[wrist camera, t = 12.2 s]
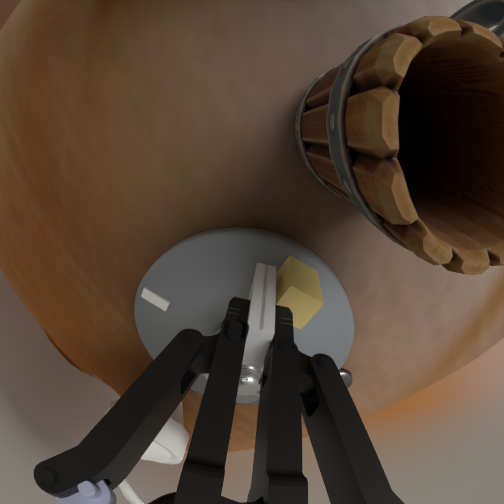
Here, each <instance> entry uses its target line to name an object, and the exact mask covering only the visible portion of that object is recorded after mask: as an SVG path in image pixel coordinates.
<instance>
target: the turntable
mask: <svg viewBox="0 0 504 504" xmlns="http://www.w3.org/2000/svg"><path fill="white" fill-rule="evenodd" d="M257 263H261V264H266V265H270V266H275V267H276V301H275V305H279V306H284V307H289V308H290V310H291V311H292V313H293V328H294V343H295V344H296V345H297V347H298V350H299V351H300V352H302V353H304V354H306V355H308V356H311V357H312V356H313V355H315V354H318V353H322V354H326V355H328V356H330V357H331V358H332V359H333V360H334V362H335V364H336V366H337V368H338V370H340V368H341V367H342V366H343V364H344V362H345V361H346V359H347V357H348V355H349V353H350V350H351V348H352V344H353V339H354V319H353V313H352V310H351V307H350V304H349V301H348V298H347V295H346V292H345V289H344V287H343V285H342V283H341V282H340V280H339V278H338V276H337V275H336V274H335V272H334V271H333V270H332V269H331V267H330V266H329V265H328V264H327V263H326V262H325V261H324V260H323V259H322V258H321V257H320V256H318V255H317V254H316V253H314V252H313V251H311V250H310V249H309V248H307V247H306V246H304V245H302V244H300V243H298V242H296V241H294V240H293V239H290V238H288V237H285V236H282V235H280V234H277V233H274V232H270V231H265V230H261V229H255V228H245V227H223V228H217V229H211V230H206V231H203V232H199V233H196V234H193V235H191V236H189V237H187V238H184V239H182V240H180V241H179V242H177V243H176V244H174V245H173V246H171V247H170V248H168V249H167V250H166V251H165V252H164V253H163V254H162V255H161V256H160V257H159V258H158V259H157V260H156V262H155V263H154V264H153V265H152V266H151V267H150V268H149V270H148V271H147V273H146V274H145V275H144V277H143V278H142V280H141V282H140V285H139V287H138V289H137V293H136V297H135V304H134V316H135V323H136V327H137V331H138V333H139V336H140V339H141V341H142V343H143V345H144V346H145V348H146V350H147V351H148V353H149V354H150V356H151V357H152V358H153V360H155V358H156V357H157V356H158V355H159V354H160V353H161V352H162V351H163V349H164V348H165V347H166V346H167V345H168V344H169V343H170V342H171V341H172V339H173V338H174V337H175V336H176V335H177V334H178V333H179V332H180V331H181V330H183V329H195V330H198V331H199V332H201V333H202V335H203V336H209V335H210V333H211V331H212V330H213V328H214V327H215V326H216V325H218V324H219V323H221V322H222V321H223V320H224V319H225V316H226V312H227V308H228V304H229V301H230V300H231V299H232V298H233V297H238V298H243V299H247V300H249V295H250V291H251V287H252V283H253V279H254V274H255V270H256V266H257ZM206 383H207V379H206V378H205V376H204V375H203V374H199V376H198V378H197V379H196V381H195V382H194V384H193V385H192V387H191V388H190V389H191V390H193V391H195V392H197V393H200V394H202V395H203V394H204V390H205V387H206ZM236 404H244V405H259V398H258V399H257V400H255V401H253V402H249V403H238V402H236Z"/></svg>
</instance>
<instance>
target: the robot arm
mask: <svg viewBox="0 0 504 504" xmlns="http://www.w3.org/2000/svg"><path fill="white" fill-rule="evenodd" d="M275 301H276V267H275V266H270V265H266V264H261V263H257V266H256V270H255V274H254V279H253V283H252V287H251V291H250V295H249V300H247V299H243V298H238V297H233V298H232V299H231V300H230V301H229V304H228V308H227V312H226V316H225V319H224V320H223V321H222V325H221V331H220V332H219V333H218V334H216V335H213V336H203V335H202V333H201V332H199V331H198V330H195V329H183V330H181V331H180V332H179V333H178V334H177V335H176V336H175V337H174V338H173V339H172V341H171V342H170V343H169V344H168V345H167V346H166V347H165V348H164V349H163V351H162V352H161V353H160V354H159V355H158V356H157V357H156V358H155V360H154V361H153V362H152V363H151V364H150V365H149V366H148V367H147V369H146V370H145V371H144V372H143V373H142V374H141V375H140V376H139V377H138V379H137V380H136V381H135V382H134V383H133V384H132V385H131V386H130V388H129V389H128V390H127V391H126V392H125V393H124V394H123V395H122V397H121V398H120V399H119V400H118V401H117V402H116V403H115V404H114V406H113V407H112V408H111V409H110V410H109V411H108V412H107V413H106V415H105V416H104V417H103V418H102V419H101V420H100V421H99V422H98V424H97V425H96V426H95V427H94V428H93V429H92V430H91V431H90V433H89V434H88V435H87V436H86V437H85V438H84V439H83V440H82V441H81V443H80V444H79V445H78V446H76V447H74V448H72V449H70V450H67V451H65V452H63V453H61V454H59V455H56V456H54V457H52V458H49V459H47V460H45V461H42V462H41V463H39V464H38V465H36V467H35V469H34V478H35V481H36V483H37V484H38V486H39V487H40V488H41V489H42V490H44V491H45V492H47V493H49V494H51V495H53V496H54V497H55V498H56V499H57V501H58V502H59V503H60V504H116V496H115V493H114V492H113V489H115V488H116V487H117V486H118V485H119V484H121V483H122V482H123V480H124V479H125V478H126V477H127V476H128V474H129V473H130V472H131V471H132V469H133V468H134V466H135V465H136V464H137V462H138V461H139V460H140V458H141V457H142V456H143V454H144V453H145V452H146V450H147V449H148V447H149V446H150V445H151V443H152V442H153V440H154V439H155V438H156V436H157V435H158V434H159V432H160V431H161V429H162V428H163V427H164V425H165V424H166V422H167V421H168V419H169V418H170V417H171V415H172V414H173V412H174V411H175V410H176V408H177V407H178V405H179V404H180V402H181V401H182V400H183V398H184V397H185V395H186V394H187V392H188V391H189V389H190V388H191V387H192V385H193V384H194V382H195V381H196V379H197V378H198V376H199V374H209V376H208V379H207V383H206V387H205V390H204V394H203V398H202V401H201V405H200V409H199V413H198V416H197V420H196V424H195V428H194V431H193V435H192V439H191V443H190V446H189V450H188V454H187V458H186V460H185V462H184V465H183V469H182V472H181V476H180V480H179V484H178V488H177V491H176V492H174V493H169V494H166V495H163V496H161V497H159V498H157V499H156V500H154V501H152V502H150V503H148V504H308V481H307V479H306V477H305V476H304V475H303V473H302V424H301V412H302V415H303V419H304V422H305V425H306V428H307V431H308V434H309V437H310V440H311V444H312V446H313V450H314V453H315V456H316V459H317V462H318V465H319V468H320V472H321V475H322V478H323V481H324V484H325V487H326V490H327V493H328V496H329V499H330V503H331V504H404V503H403V502H402V501H401V500H400V498H398V496H396V494H395V493H394V492H393V491H392V490H391V487H390V485H389V482H388V480H387V477H386V475H385V473H384V470H383V468H382V466H381V463H380V461H379V459H378V456H377V454H376V452H375V450H374V447H373V445H372V443H371V440H370V438H369V436H368V433H367V431H366V429H365V427H364V424H363V422H362V420H361V418H360V415H359V413H358V411H357V409H356V407H355V404H354V402H353V400H352V398H351V396H350V394H349V391H348V389H347V387H346V385H345V383H344V381H343V378H342V376H341V374H340V372H339V370H338V368H337V366H336V364H335V362H334V360H333V359H332V358H331V357H330V356H328V355H326V354H322V353H318V354H315V355H313V356H312V357H311V356H308V355H306V354H304V353H302V352H300V351H299V350H298V347H297V345H296V344H295V343H294V328H293V313H292V311H291V310H290V308H289V307H284V306H279V305H275ZM242 364H243V365H248V366H253V367H258V368H262V366H263V364H264V366H263V372H262V375H261V377H260V380H259V383H258V384H260V383H261V384H260V396H259V408H258V420H257V431H256V441H255V452H254V462H253V472H252V482H251V488H250V491H249V494H248V500H247V502H245V503H239V502H236V501H233V500H231V499H228V498H225V497H223V496H221V491H222V486H223V481H224V474H225V462H226V456H227V451H228V445H229V439H230V433H231V427H232V421H233V416H234V410H235V404H236V398H237V392H238V386H239V380H240V374H241V368H242Z"/></svg>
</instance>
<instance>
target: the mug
mask: <svg viewBox="0 0 504 504" xmlns="http://www.w3.org/2000/svg"><path fill="white" fill-rule="evenodd" d="M498 24H499V25H498ZM495 25H498V26H497V27H496V28H495V29H494V30H492V31H490V30H488V28H490V27H493V26H495ZM295 131H296V138H297V145H298V148H299V150H300V153H301V155H302V158H303V160H304V163H305V164H306V166H307V167H308V169H309V170H310V171H311V173H312V174H313V175H314V177H315V178H316V179H317V180H318V181H319V182H320V183H322V184H323V185H324V186H325V187H326V188H328V189H329V190H330V191H331V192H333V193H334V194H335V195H337V196H339V197H341V198H343V199H345V200H347V201H349V202H351V203H352V204H353V205H355V207H356V208H357V209H358V210H359V211H360V212H361V213H362V214H363V215H364V216H365V217H366V218H367V219H368V220H369V221H370V222H371V223H372V224H373V225H375V226H376V227H377V228H378V229H379V230H380V231H381V232H383V233H384V234H385V235H386V236H387V237H388V238H390V239H391V240H392V241H393V242H395V243H397V244H399V245H401V246H402V247H404V248H406V249H408V250H410V251H412V252H413V253H414V254H416V255H417V256H418V257H420V258H421V259H423V260H425V261H427V262H429V263H431V264H432V265H440V264H441V265H442V266H443V267H444V268H446V269H447V270H448V271H453V272H457V273H462V274H468V275H477V274H482V273H483V272H484V271H486V270H487V269H488V268H489V265H490V266H498V265H504V0H474V1H472V2H470V3H469V4H467V5H466V6H464V7H462V8H461V9H460V10H458V11H457V12H455V13H454V14H453V15H452V16H450V17H444V16H424V17H422V18H419V19H417V20H415V21H412V22H410V23H408V24H403V25H397V26H395V27H392V28H390V29H388V30H386V31H384V32H382V33H380V34H378V35H376V36H374V37H372V38H371V39H369V40H368V41H366V42H365V43H364V44H362V45H361V46H359V47H358V48H357V49H356V50H355V51H354V52H353V53H352V55H351V56H350V57H349V58H348V59H347V60H346V61H345V62H344V63H342V64H340V65H337V66H335V67H333V68H332V69H330V70H328V71H327V72H325V73H323V74H322V75H320V76H319V77H318V78H316V80H315V81H314V82H313V83H312V84H311V85H310V86H309V88H308V89H307V90H306V91H305V92H304V95H303V97H302V99H301V102H300V104H299V106H298V108H297V116H296V123H295Z"/></svg>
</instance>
